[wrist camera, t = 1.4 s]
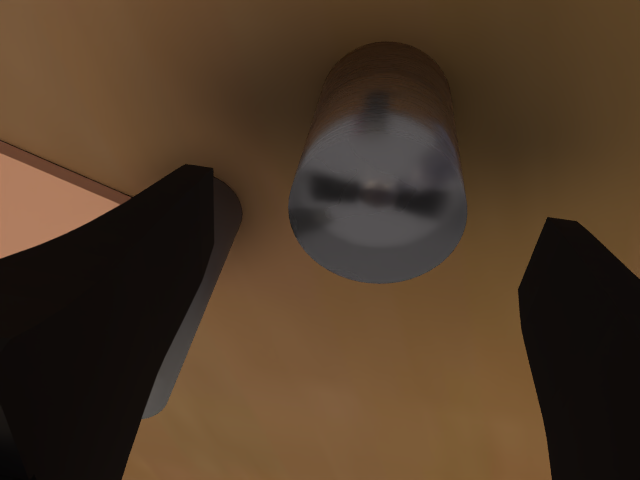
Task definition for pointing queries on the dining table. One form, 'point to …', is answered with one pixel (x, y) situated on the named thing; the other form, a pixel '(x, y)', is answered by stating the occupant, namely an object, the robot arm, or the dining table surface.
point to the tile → (45, 200)
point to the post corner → (198, 296)
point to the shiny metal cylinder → (381, 168)
